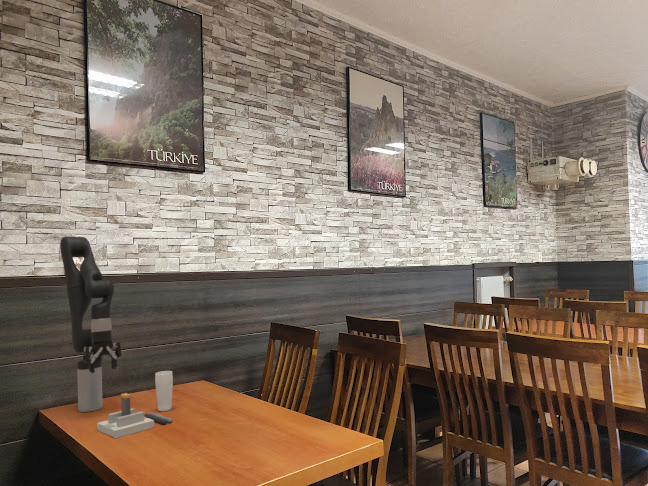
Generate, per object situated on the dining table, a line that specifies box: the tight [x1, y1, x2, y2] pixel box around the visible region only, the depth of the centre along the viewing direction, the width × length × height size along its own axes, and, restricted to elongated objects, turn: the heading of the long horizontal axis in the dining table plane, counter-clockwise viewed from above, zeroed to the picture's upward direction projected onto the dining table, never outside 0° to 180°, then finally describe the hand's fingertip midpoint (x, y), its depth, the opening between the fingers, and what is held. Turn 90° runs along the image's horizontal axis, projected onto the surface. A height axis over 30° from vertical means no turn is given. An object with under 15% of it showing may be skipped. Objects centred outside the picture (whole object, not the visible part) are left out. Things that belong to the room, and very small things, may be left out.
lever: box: [120, 392, 131, 417], centre depth 176 cm, size 5×2×9 cm, turn 47°
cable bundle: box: [144, 411, 173, 425], centre depth 185 cm, size 16×4×2 cm, turn 47°
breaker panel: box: [96, 408, 155, 439], centre depth 176 cm, size 15×14×6 cm
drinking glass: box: [154, 370, 174, 412], centre depth 199 cm, size 7×7×15 cm
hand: (103, 370), depth 197 cm, fingers open, 8 cm apart
